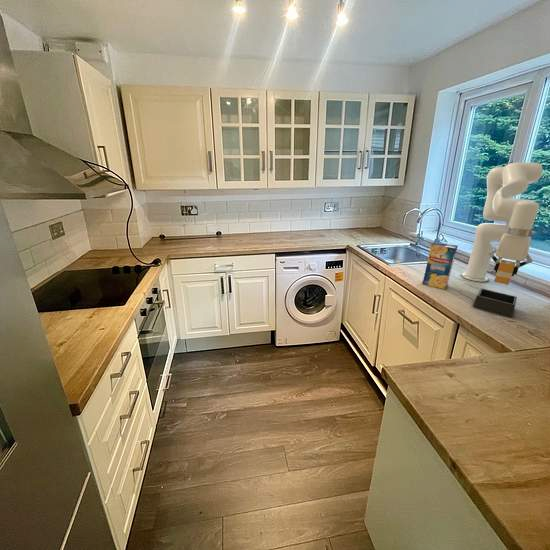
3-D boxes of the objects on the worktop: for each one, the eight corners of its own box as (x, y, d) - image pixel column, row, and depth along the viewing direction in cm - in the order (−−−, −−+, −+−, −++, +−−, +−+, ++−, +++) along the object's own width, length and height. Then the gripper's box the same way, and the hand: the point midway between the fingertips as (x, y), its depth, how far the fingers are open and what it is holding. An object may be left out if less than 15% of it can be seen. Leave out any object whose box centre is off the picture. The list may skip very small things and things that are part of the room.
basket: (473, 307, 130) (476, 295, 128) (477, 299, 138) (480, 288, 136) (510, 317, 121) (515, 305, 119) (513, 308, 130) (517, 296, 127)
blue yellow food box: (445, 289, 148) (455, 248, 140) (422, 283, 155) (431, 244, 147) (447, 285, 153) (457, 245, 145) (425, 280, 160) (434, 241, 152)
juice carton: (495, 278, 128) (501, 259, 125) (509, 281, 125) (516, 262, 122) (493, 281, 125) (500, 262, 121) (508, 285, 121) (515, 264, 118)
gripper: (545, 234, 115) (530, 276, 121) (493, 228, 125) (482, 267, 132) (545, 237, 109) (529, 281, 116) (491, 230, 120) (479, 271, 126)
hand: (504, 273), depth 124 cm, fingers closed on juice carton, 5 cm apart
